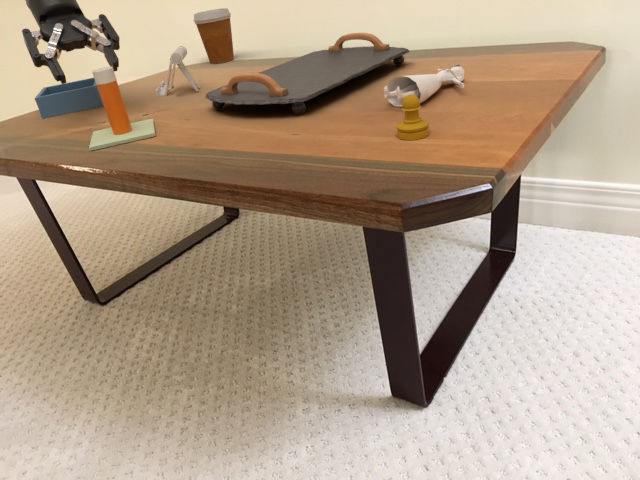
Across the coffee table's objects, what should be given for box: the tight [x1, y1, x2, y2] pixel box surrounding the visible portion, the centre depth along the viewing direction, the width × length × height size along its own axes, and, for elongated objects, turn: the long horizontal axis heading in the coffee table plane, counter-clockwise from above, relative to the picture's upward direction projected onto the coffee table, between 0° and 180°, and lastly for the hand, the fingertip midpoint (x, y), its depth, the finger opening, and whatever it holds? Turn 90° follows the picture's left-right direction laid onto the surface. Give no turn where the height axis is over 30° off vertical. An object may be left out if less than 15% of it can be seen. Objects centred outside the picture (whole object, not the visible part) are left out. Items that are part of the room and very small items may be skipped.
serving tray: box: [205, 32, 410, 117], centre depth 97 cm, size 39×23×6 cm, turn 143°
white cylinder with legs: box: [155, 46, 201, 98], centre depth 109 cm, size 9×8×8 cm
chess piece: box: [395, 94, 430, 141], centre depth 66 cm, size 4×4×5 cm
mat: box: [88, 118, 157, 152], centre depth 88 cm, size 10×10×1 cm
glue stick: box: [91, 66, 132, 135], centre depth 85 cm, size 3×3×10 cm
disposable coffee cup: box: [192, 7, 235, 65], centre depth 137 cm, size 10×10×12 cm
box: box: [34, 77, 104, 120], centre depth 110 cm, size 12×12×5 cm
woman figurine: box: [383, 63, 466, 107], centre depth 81 cm, size 12×4×18 cm
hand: (90, 74), depth 90 cm, fingers open, 8 cm apart
